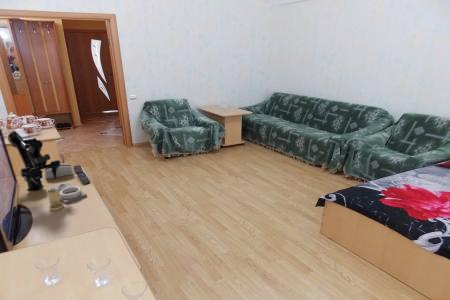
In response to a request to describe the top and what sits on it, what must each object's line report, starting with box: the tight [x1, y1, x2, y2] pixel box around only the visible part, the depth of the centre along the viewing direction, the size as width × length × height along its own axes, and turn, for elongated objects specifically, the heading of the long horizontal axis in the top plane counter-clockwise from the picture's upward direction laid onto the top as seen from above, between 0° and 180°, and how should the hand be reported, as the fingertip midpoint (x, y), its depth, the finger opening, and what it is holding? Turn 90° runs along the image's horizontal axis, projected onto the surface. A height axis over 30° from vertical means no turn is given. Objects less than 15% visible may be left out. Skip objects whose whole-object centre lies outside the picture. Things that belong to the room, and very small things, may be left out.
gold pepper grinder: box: [47, 187, 64, 212], centre depth 152 cm, size 7×7×12 cm
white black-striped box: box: [44, 163, 74, 180], centre depth 191 cm, size 17×5×10 cm, turn 123°
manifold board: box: [47, 182, 88, 205], centre depth 168 cm, size 23×12×5 cm, turn 53°
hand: (46, 181), depth 155 cm, fingers open, 9 cm apart
